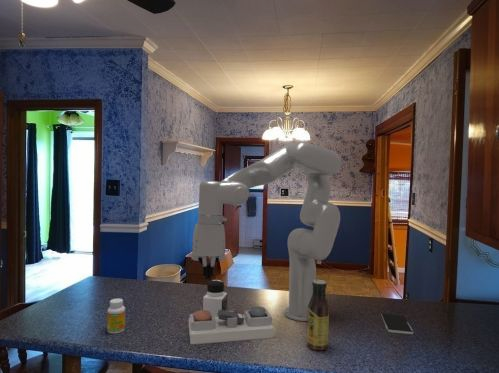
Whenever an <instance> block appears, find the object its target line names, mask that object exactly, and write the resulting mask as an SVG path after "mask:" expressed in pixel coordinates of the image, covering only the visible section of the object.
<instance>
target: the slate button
mask: <svg viewBox="0 0 499 373" xmlns="http://www.w3.org/2000/svg"><path fill="white" fill-rule="evenodd" d="M249 310H250V316H251V318H255V317H265V312H266V308H265V307H263V306H259V305H257V306H252V307H250V309H249Z"/></svg>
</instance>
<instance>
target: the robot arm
mask: <svg viewBox="0 0 499 373" xmlns="http://www.w3.org/2000/svg"><path fill="white" fill-rule="evenodd" d="M295 168H301V169H302V171H303V173H304V174H305V176H306V179H307V191H306V193H305V195H304V196H305V197H304V200H303V203H302V206H301V209H300V213H299V220H300V222H301V223H302V224H304V225H305V226H309V227H312V228H313V229H307V228H303V227H300V228H295V229H293V230H292V231H291V232H290V233H289V235H288V237H287V249H288V250H287V251H288V256H289V257H288V258H289V272H288V273H289V274H288V276H289V279H288V281H289V282H288V283H289V284H288V306H287V307H286V308H285V309H284V311H283V312H284V316H286V318H289V319H290V320H294V321H299V322H300V321H301V322H307V318H308V305H309V302H310V300H311V297H312V294H313V286H312V283H313V281H314V280H317V279H316V278H317V277H316V274H317V266H316V261H324V260H326V259H327V257H328V256H329V255H330V253H331V252H332V249H333V246H334V242H335V239H336V237H337V235H338V234H337V233H338V230H339V227H340V223H341V212H340V210H339V207H338V206H337V205H336V204H334V203H332V202H329V200H330V197H331V196H330V195H331V191H332V185H331V182H330V178H329V177H328V176H334V175H336V174H337V173H338V172H339V171H340V170H341V168H342V159H341V157H340V155H339V154H338V152H335V151H334V150H331V149H328V148H325V147H322V146H319V145H318V144H313V143H311V142H307V141H306V142H305V141H301V142H300V141H299V142H292V143H287V144H285V145H283V146H281V147H280V148H278V149H277V150H275V151H273V152H272V153H270V154H269V155H266V156H265V157H264V158H262V159H260V160H259V161H256V162H254V163H252V164H250V165H248V166H246V167H244V168H242V169H240V170H237V171H235V172H234V173H232V174H230V175H229V176H227V177H226V178H224V179H222V180H221V181H217V180H203V181H201V182H200V183H199V187H198V188H199V190H198V213H197V214H198V215H197V216H198V217H197V223H195V224H194V229H193V234H192V247H191V248H192V250H191V251H192V254H191V257H190V258H191V260H193V261H196V262H197V261H198V262H199V263H200V264H201V265H202V276H203V277H204V279H205V280H211V279H212V276H213V275H214V267H215V265H216V264H217V263H218V262H220V261H224V260H226V230H225V225H224V224H223V223H224V222H227V221H228V218H227V216H224V215H223V210H224V208H223V206H224V205H225V204H227V205H232V206H240V205H243V204H244V203H246V202H247V201H248V199H249V197H250V189H253V188H255V187H259V186H265V185H268V184H272V183H274V182H275V181H278V179H280V178H281V177H282V176H284V175H287V173H289V172H290V171H292V170H293V169H295ZM207 257H208V258H209V262H207Z"/></svg>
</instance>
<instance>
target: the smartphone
mask: <svg viewBox="0 0 499 373" xmlns="http://www.w3.org/2000/svg"><path fill="white" fill-rule="evenodd" d="M380 314H381V318H382V321H383V323H384V325H385V329H386V330H387V332H389V333H394V334H395V333H398V334H405V335H407V334H408V335H413V334H414V330H413V329H412V327H411V325H410V324H409V322H408V321H407V318H406V317H405V315H403V314H394V313H382V312H381V313H380Z"/></svg>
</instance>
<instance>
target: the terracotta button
mask: <svg viewBox="0 0 499 373" xmlns="http://www.w3.org/2000/svg"><path fill="white" fill-rule="evenodd" d="M194 313H195V322H197V321H210V319H211V312H210V311H208V310H203V309H200V310H196V311H195V312H194Z"/></svg>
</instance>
